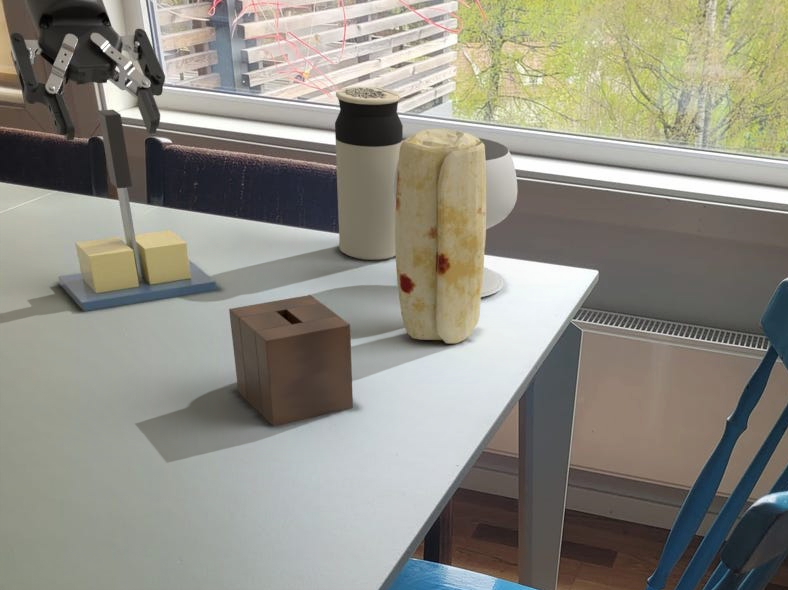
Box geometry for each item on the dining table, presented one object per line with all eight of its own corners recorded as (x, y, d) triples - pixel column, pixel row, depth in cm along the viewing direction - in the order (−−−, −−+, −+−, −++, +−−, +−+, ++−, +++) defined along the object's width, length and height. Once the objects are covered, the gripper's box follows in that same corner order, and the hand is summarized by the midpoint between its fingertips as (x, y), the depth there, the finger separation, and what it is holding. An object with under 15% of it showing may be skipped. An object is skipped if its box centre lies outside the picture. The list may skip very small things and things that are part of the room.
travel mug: (353, 264, 122) (349, 101, 111) (330, 244, 128) (323, 87, 117) (412, 257, 126) (413, 98, 114) (387, 238, 131) (386, 84, 120)
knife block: (273, 427, 89) (265, 340, 84) (238, 392, 94) (228, 308, 89) (353, 408, 92) (350, 324, 87) (315, 375, 97) (310, 294, 92)
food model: (464, 318, 111) (472, 120, 98) (494, 340, 106) (506, 136, 94) (385, 331, 107) (382, 127, 94) (412, 355, 102) (413, 143, 90)
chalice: (392, 263, 124) (391, 130, 114) (503, 264, 125) (511, 134, 116) (396, 304, 113) (395, 162, 103) (517, 306, 114) (528, 166, 105)
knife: (133, 283, 111) (105, 115, 101) (126, 276, 113) (97, 110, 102) (147, 281, 112) (121, 114, 101) (140, 274, 114) (113, 109, 103)
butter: (83, 311, 107) (74, 264, 104) (60, 285, 113) (50, 239, 109) (216, 290, 114) (211, 245, 111) (187, 265, 119) (182, 222, 116)
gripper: (-16, -41, 97) (43, 114, 97) (130, -42, 103) (185, 104, 103) (-14, 14, 103) (41, 160, 103) (123, 10, 110) (174, 148, 110)
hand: (113, 132), depth 103 cm, fingers open, 8 cm apart
